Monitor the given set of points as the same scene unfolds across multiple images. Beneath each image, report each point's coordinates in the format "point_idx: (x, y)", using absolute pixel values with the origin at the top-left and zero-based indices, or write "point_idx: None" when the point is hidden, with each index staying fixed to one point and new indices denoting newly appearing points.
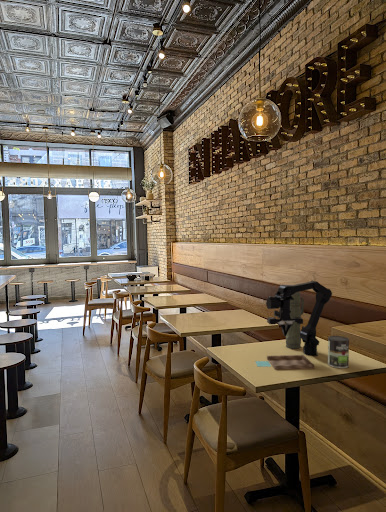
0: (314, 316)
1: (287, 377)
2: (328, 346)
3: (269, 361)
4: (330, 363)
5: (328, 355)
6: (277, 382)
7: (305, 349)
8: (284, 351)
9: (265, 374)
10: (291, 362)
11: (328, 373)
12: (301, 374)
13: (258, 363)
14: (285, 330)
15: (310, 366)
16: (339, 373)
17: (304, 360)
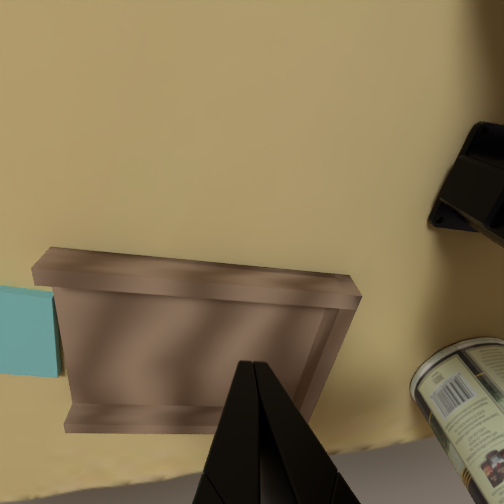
0: None
1: (123, 461)
2: (498, 487)
3: (60, 303)
4: (418, 398)
5: (451, 421)
6: (62, 490)
7: (469, 218)
8: (328, 9)
9: (13, 435)
10: (221, 338)
11: (330, 441)
12: (203, 443)
13: None
14: (269, 500)
15: None
16: (374, 443)
17: (318, 339)
